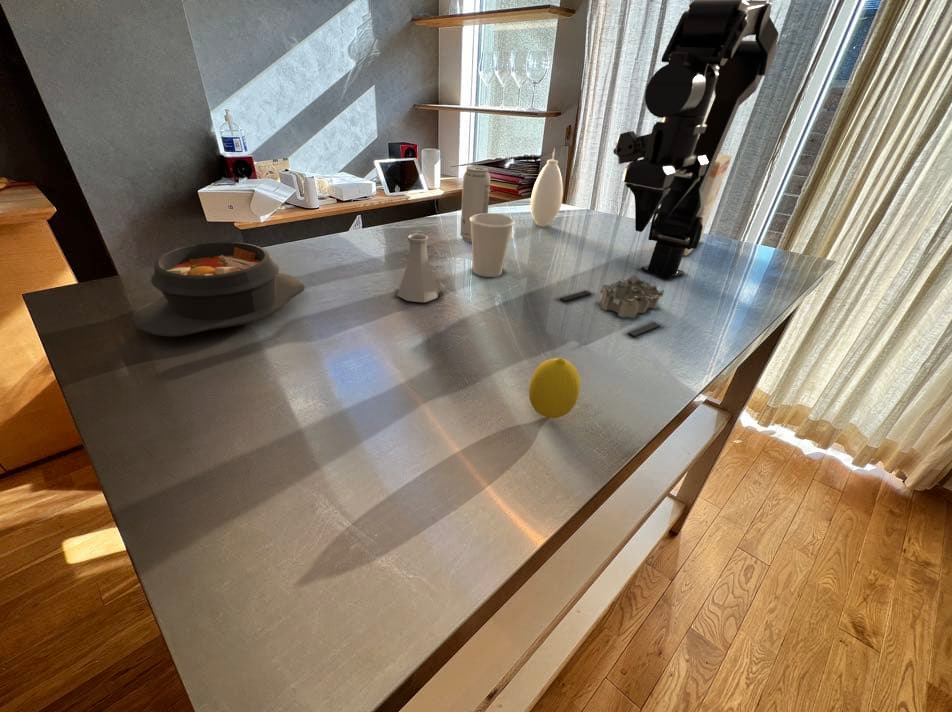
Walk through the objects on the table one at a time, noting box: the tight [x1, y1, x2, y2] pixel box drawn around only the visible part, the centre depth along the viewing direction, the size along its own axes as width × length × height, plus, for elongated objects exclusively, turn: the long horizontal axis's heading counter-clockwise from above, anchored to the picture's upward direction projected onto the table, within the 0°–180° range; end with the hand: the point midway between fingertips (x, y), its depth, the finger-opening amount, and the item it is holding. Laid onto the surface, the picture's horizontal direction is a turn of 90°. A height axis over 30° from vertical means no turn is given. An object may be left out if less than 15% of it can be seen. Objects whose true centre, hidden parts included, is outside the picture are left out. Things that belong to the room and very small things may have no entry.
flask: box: [396, 233, 440, 304], centre depth 74 cm, size 7×7×10 cm
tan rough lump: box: [599, 274, 665, 319], centre depth 77 cm, size 11×8×4 cm
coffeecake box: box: [683, 153, 733, 256], centre depth 103 cm, size 15×7×20 cm, turn 144°
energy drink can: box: [459, 165, 492, 243], centre depth 100 cm, size 6×6×15 cm
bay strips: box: [559, 290, 661, 338], centre depth 76 cm, size 7×16×1 cm, turn 36°
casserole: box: [131, 241, 306, 338], centre depth 66 cm, size 25×19×8 cm
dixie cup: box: [470, 212, 515, 278], centre depth 85 cm, size 8×8×10 cm
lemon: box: [528, 357, 581, 419], centre depth 49 cm, size 6×6×8 cm
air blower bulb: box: [530, 147, 564, 228], centre depth 111 cm, size 8×8×18 cm
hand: (650, 226), depth 74 cm, fingers open, 9 cm apart
